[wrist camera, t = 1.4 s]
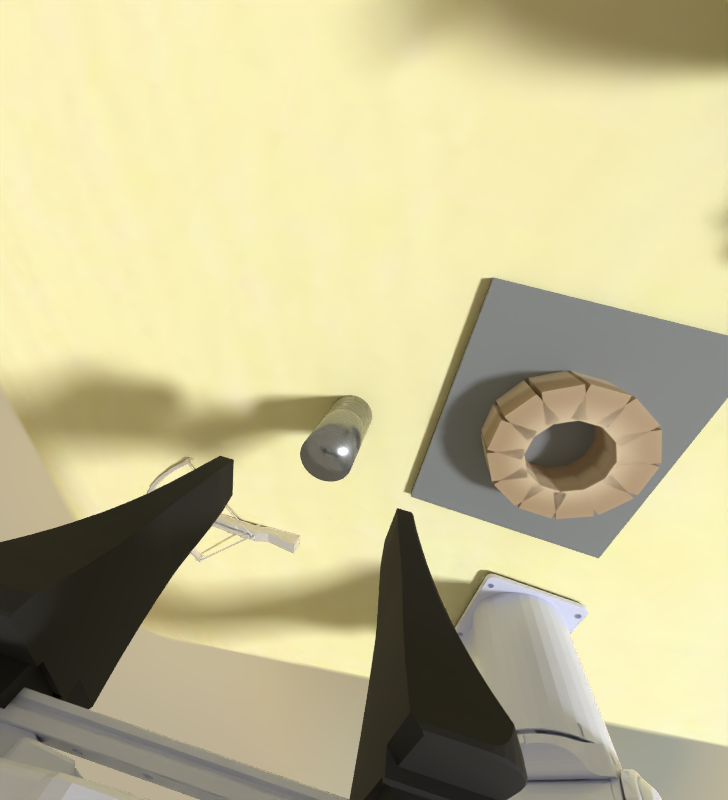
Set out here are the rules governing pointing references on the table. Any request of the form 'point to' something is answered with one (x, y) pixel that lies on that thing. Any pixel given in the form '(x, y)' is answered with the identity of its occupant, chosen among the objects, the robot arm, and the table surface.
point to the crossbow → (241, 526)
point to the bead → (590, 474)
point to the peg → (337, 439)
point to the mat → (566, 442)
